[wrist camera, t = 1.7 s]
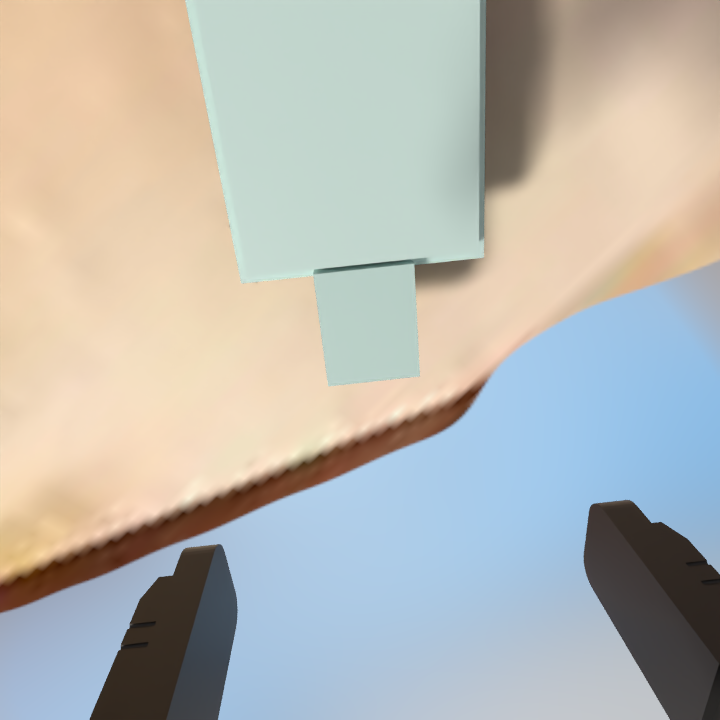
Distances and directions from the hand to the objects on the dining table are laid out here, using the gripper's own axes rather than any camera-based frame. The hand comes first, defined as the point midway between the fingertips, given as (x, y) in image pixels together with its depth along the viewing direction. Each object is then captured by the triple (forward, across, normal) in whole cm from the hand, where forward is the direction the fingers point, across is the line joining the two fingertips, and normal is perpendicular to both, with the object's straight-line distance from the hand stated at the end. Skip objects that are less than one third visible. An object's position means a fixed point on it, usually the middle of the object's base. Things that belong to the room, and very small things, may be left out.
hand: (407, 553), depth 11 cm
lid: (+14, 0, -8) cm, 16 cm away
